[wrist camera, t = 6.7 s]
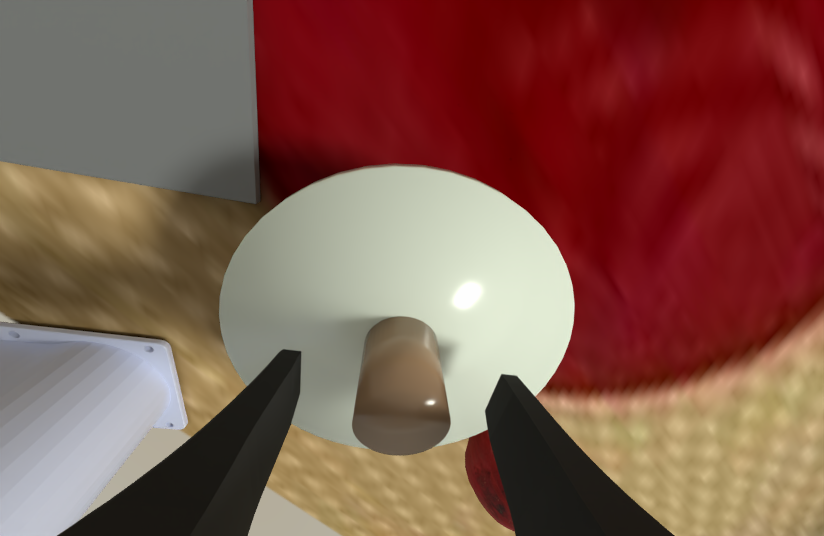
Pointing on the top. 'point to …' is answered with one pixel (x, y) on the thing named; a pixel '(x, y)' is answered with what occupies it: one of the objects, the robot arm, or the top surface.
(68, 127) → the mat
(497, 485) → the onion
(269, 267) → the lid
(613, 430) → the top surface
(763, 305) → the top surface
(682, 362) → the top surface
